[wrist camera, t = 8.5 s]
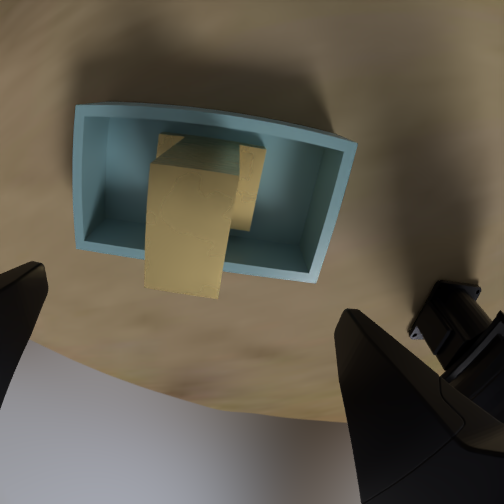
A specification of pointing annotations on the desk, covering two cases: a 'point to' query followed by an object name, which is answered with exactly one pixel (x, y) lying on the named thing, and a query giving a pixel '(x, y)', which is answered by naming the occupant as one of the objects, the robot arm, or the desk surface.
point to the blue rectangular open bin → (220, 127)
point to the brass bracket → (197, 209)
